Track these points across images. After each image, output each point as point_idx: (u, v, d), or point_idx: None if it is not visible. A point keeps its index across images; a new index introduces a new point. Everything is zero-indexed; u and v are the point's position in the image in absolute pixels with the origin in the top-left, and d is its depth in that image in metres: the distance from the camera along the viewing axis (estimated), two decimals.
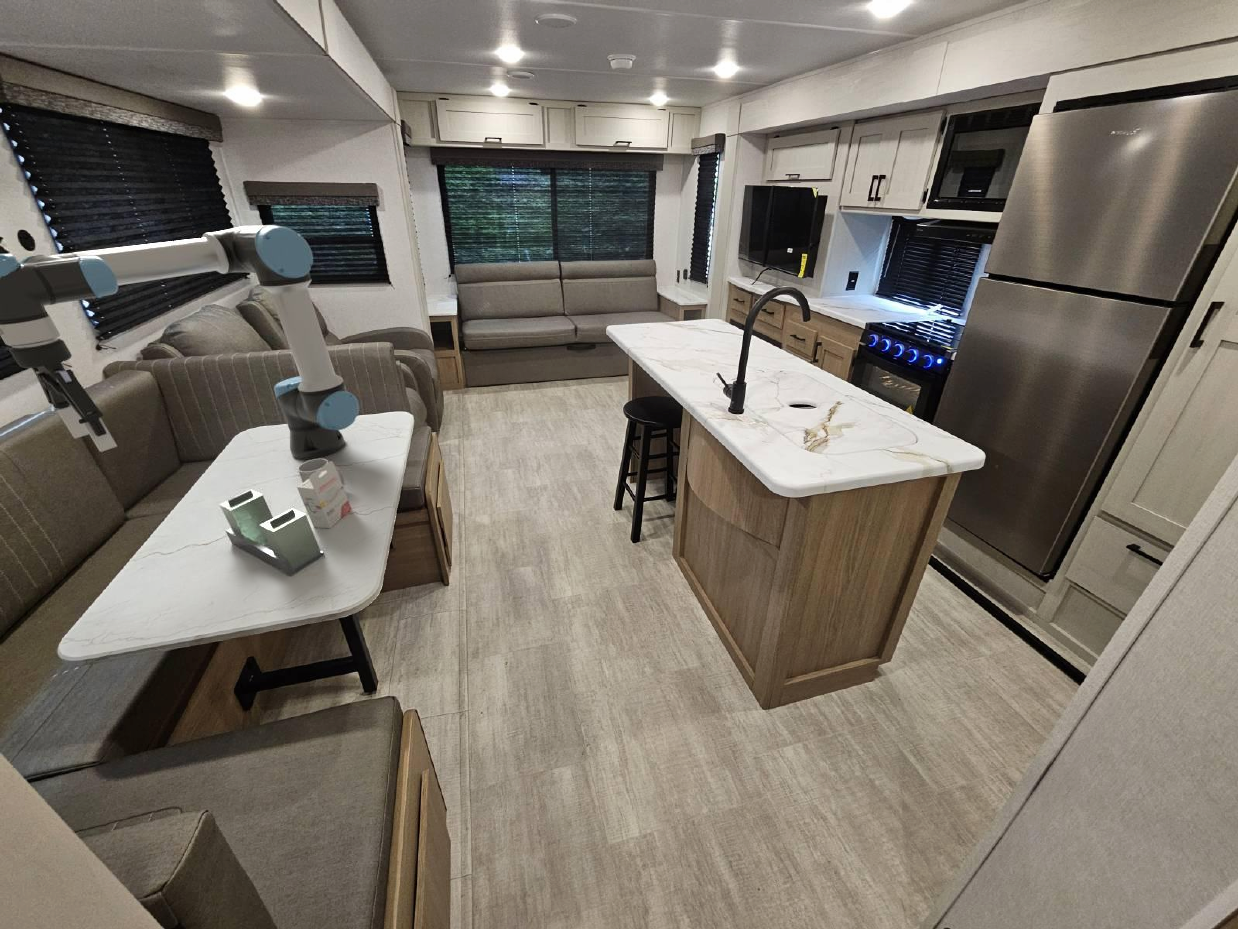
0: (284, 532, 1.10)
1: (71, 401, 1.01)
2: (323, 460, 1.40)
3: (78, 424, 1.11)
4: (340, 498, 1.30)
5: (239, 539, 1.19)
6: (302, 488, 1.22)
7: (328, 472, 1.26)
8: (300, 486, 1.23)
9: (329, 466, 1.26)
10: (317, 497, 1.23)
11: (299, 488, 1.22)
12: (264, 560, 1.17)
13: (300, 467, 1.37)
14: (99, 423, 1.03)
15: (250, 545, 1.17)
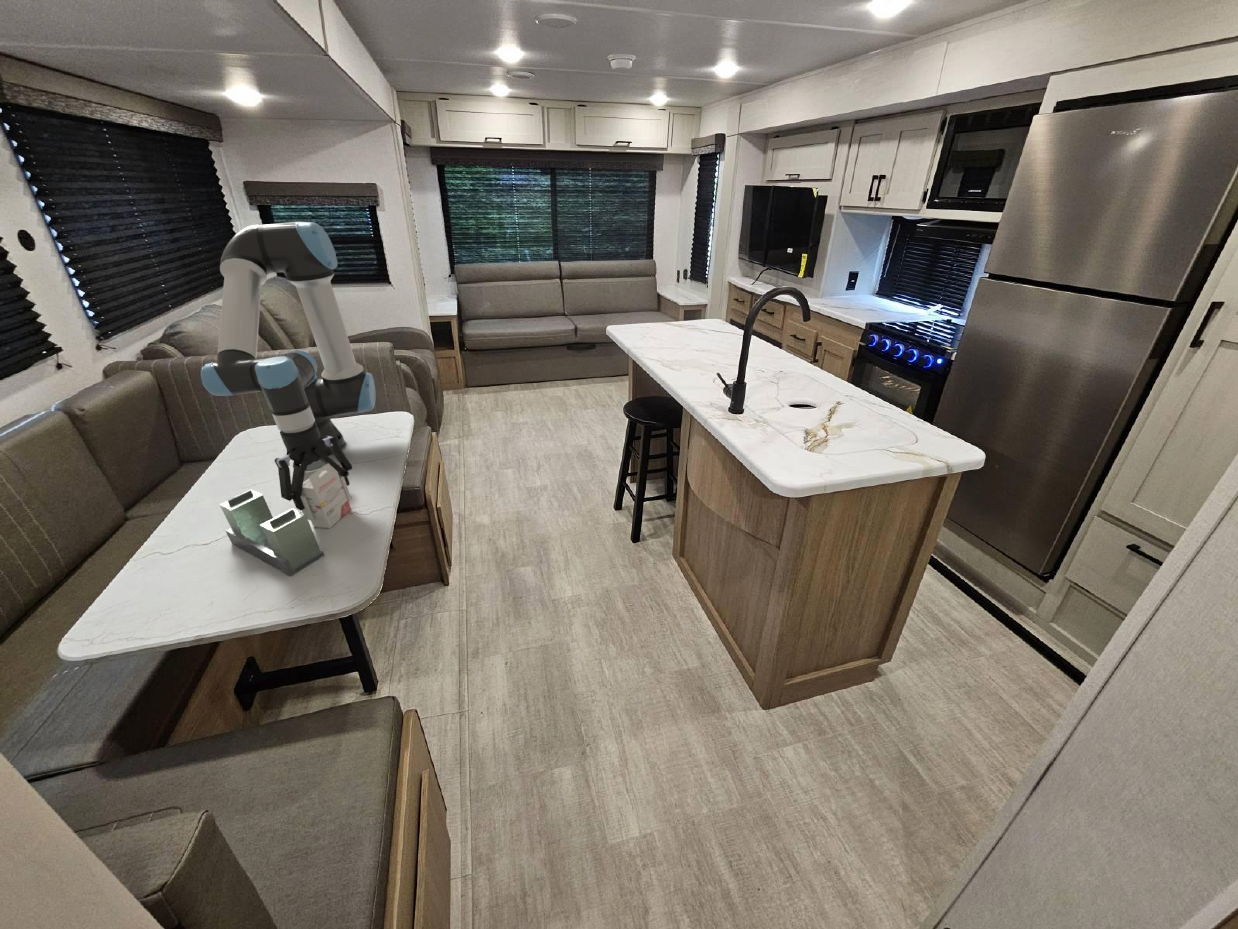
0: (284, 532, 1.10)
1: (292, 478, 1.21)
2: None
3: None
4: (339, 498, 1.30)
5: (239, 539, 1.19)
6: None
7: (328, 472, 1.26)
8: None
9: (329, 466, 1.26)
10: (317, 497, 1.23)
11: None
12: (264, 560, 1.17)
13: None
14: (296, 502, 1.22)
15: (250, 545, 1.17)
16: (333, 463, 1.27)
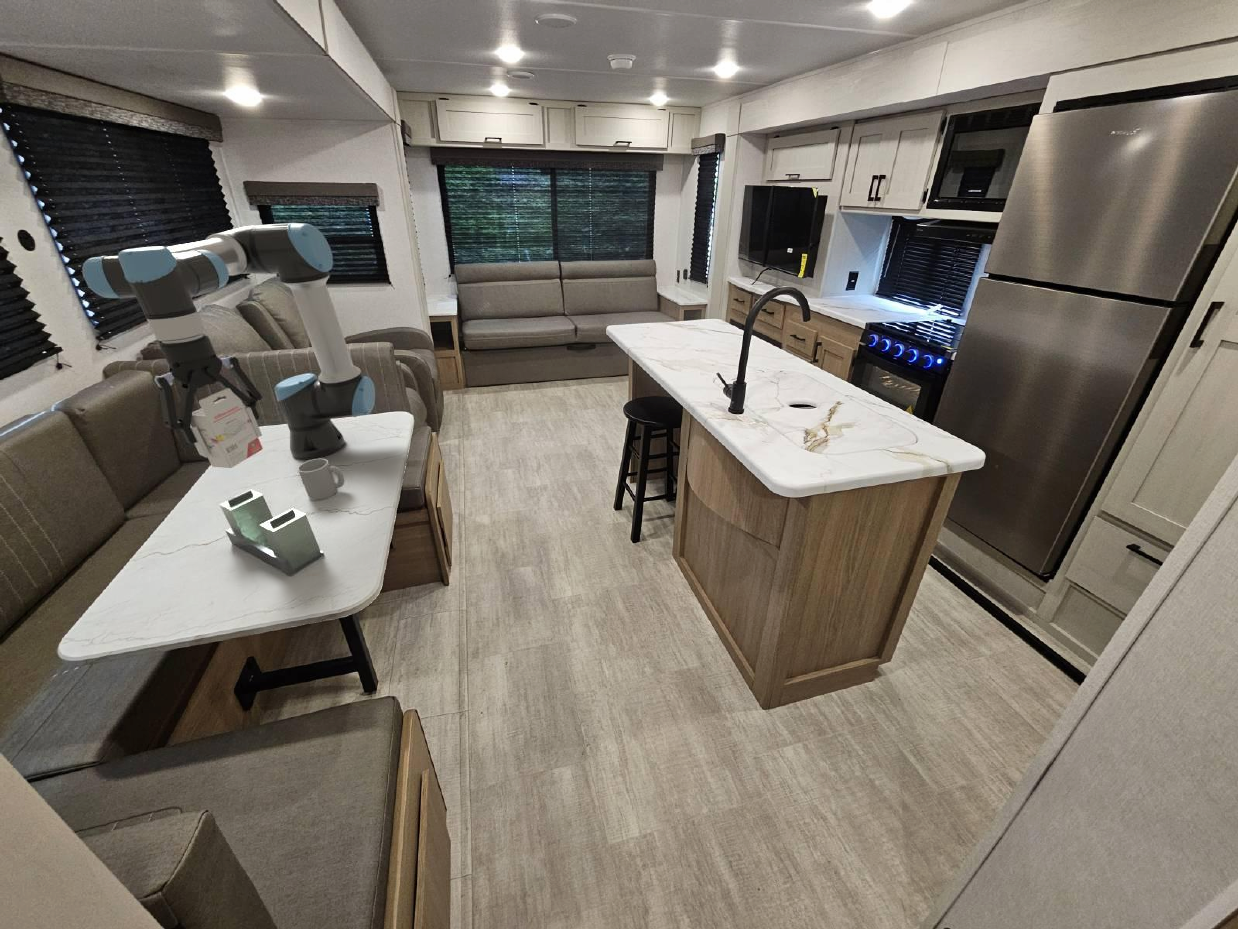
0: (284, 532, 1.10)
1: (180, 403, 0.99)
2: (323, 460, 1.40)
3: None
4: (245, 434, 1.08)
5: (239, 539, 1.19)
6: (192, 416, 1.00)
7: (228, 400, 1.04)
8: None
9: (229, 392, 1.04)
10: (211, 427, 1.01)
11: None
12: (264, 560, 1.17)
13: (300, 467, 1.37)
14: (184, 433, 1.00)
15: (250, 545, 1.17)
16: (235, 389, 1.05)
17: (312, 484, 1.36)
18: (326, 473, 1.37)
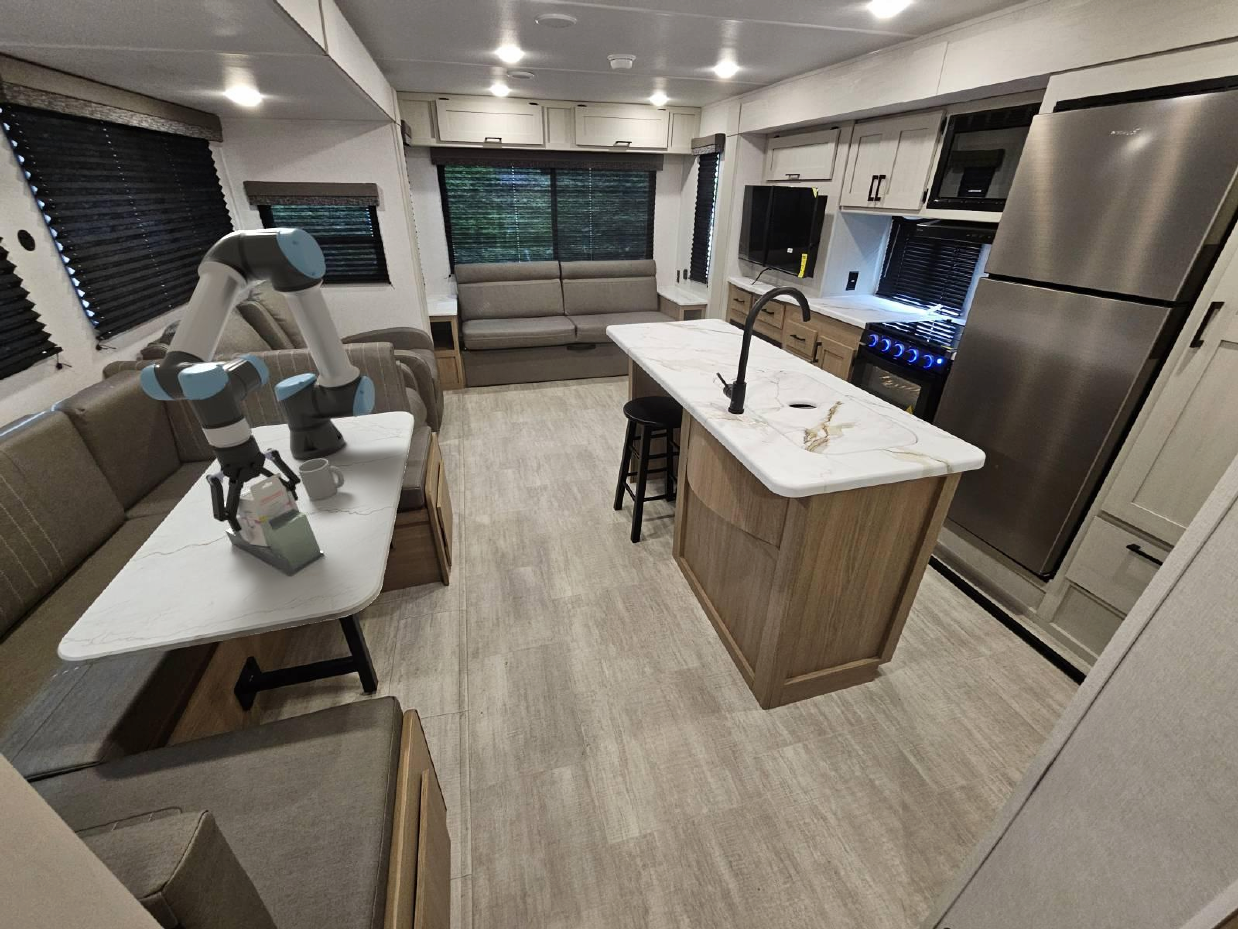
0: (284, 532, 1.10)
1: (227, 496, 1.10)
2: (323, 460, 1.40)
3: (291, 505, 1.21)
4: None
5: (239, 539, 1.19)
6: (241, 499, 1.11)
7: (273, 485, 1.15)
8: (240, 497, 1.12)
9: (276, 478, 1.16)
10: (257, 510, 1.12)
11: None
12: (264, 560, 1.17)
13: (300, 467, 1.37)
14: (231, 523, 1.10)
15: (250, 545, 1.17)
16: None
17: (312, 484, 1.36)
18: (326, 473, 1.37)
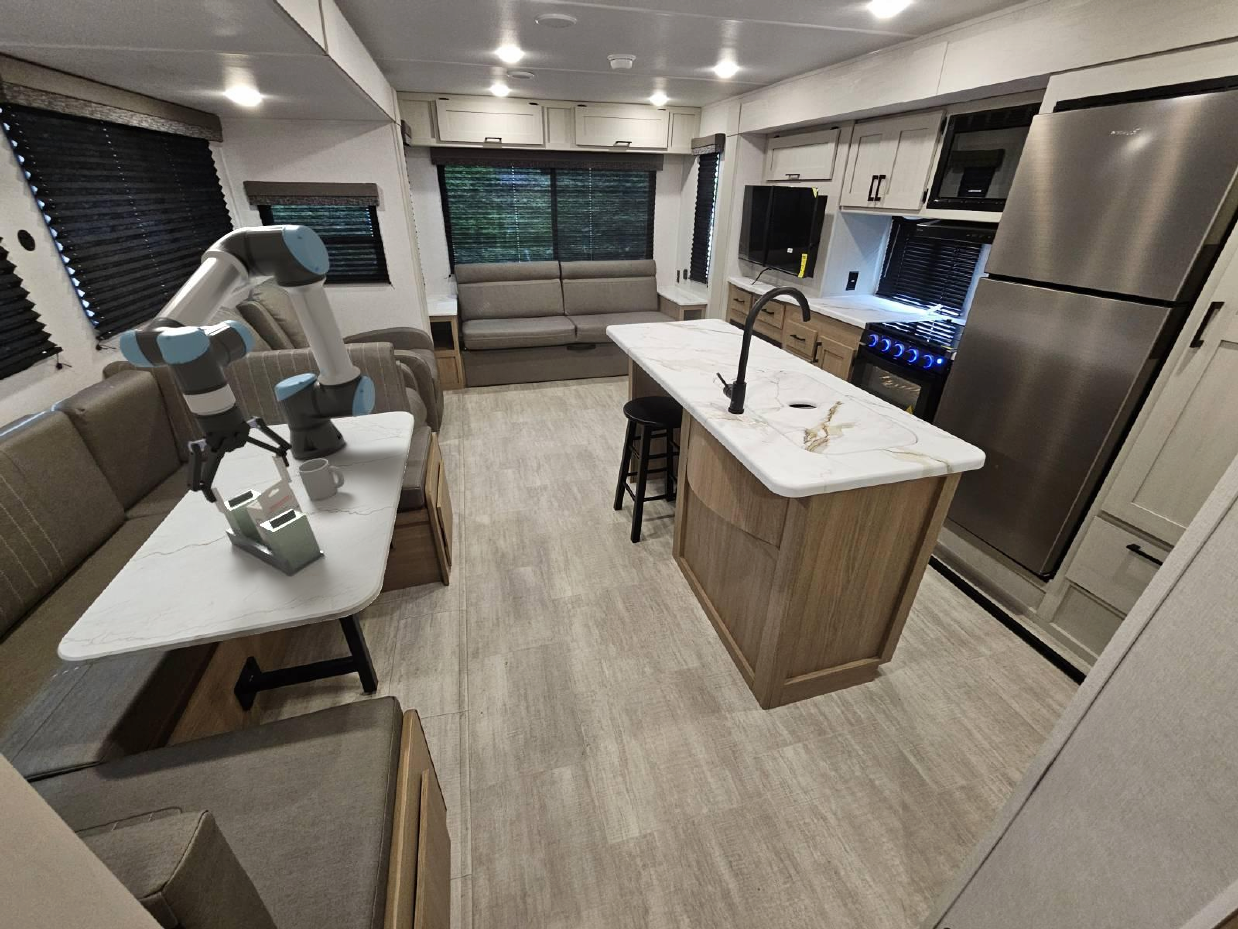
0: (284, 532, 1.10)
1: (205, 465, 1.05)
2: (323, 460, 1.40)
3: (282, 472, 1.18)
4: None
5: (239, 539, 1.19)
6: (250, 508, 1.14)
7: (280, 491, 1.17)
8: (249, 506, 1.14)
9: (282, 484, 1.17)
10: (267, 517, 1.14)
11: (248, 508, 1.14)
12: (264, 560, 1.17)
13: (300, 467, 1.37)
14: (205, 493, 1.05)
15: (250, 545, 1.17)
16: (265, 445, 1.12)
17: (312, 484, 1.36)
18: (326, 473, 1.37)
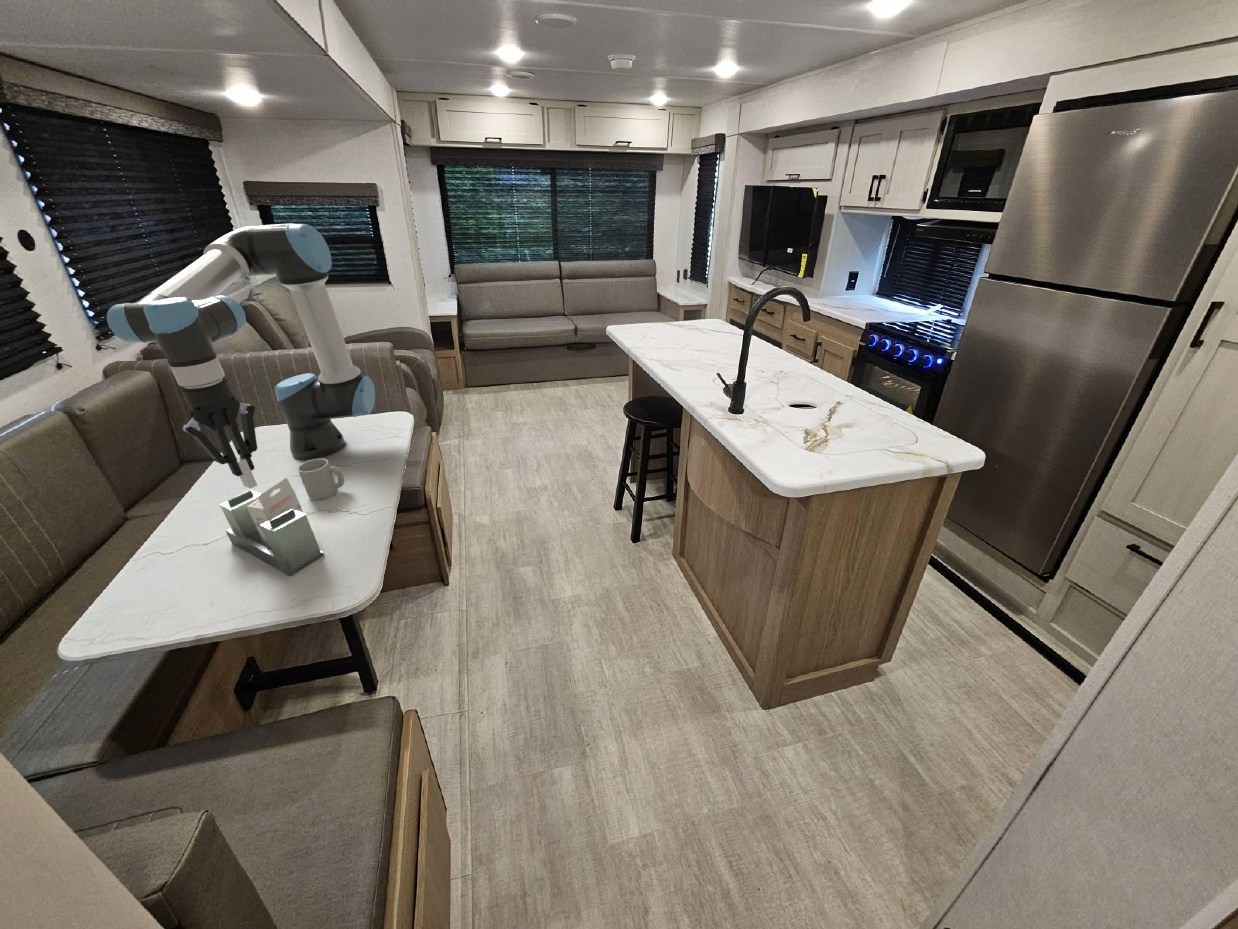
0: (284, 532, 1.10)
1: (217, 442, 1.06)
2: (323, 460, 1.40)
3: None
4: None
5: (239, 539, 1.19)
6: (251, 508, 1.14)
7: (282, 491, 1.17)
8: (250, 505, 1.14)
9: (283, 484, 1.17)
10: (268, 517, 1.14)
11: (249, 507, 1.14)
12: (264, 560, 1.17)
13: (300, 467, 1.37)
14: (231, 466, 1.08)
15: (250, 545, 1.17)
16: (239, 437, 1.08)
17: (312, 484, 1.36)
18: (326, 473, 1.37)
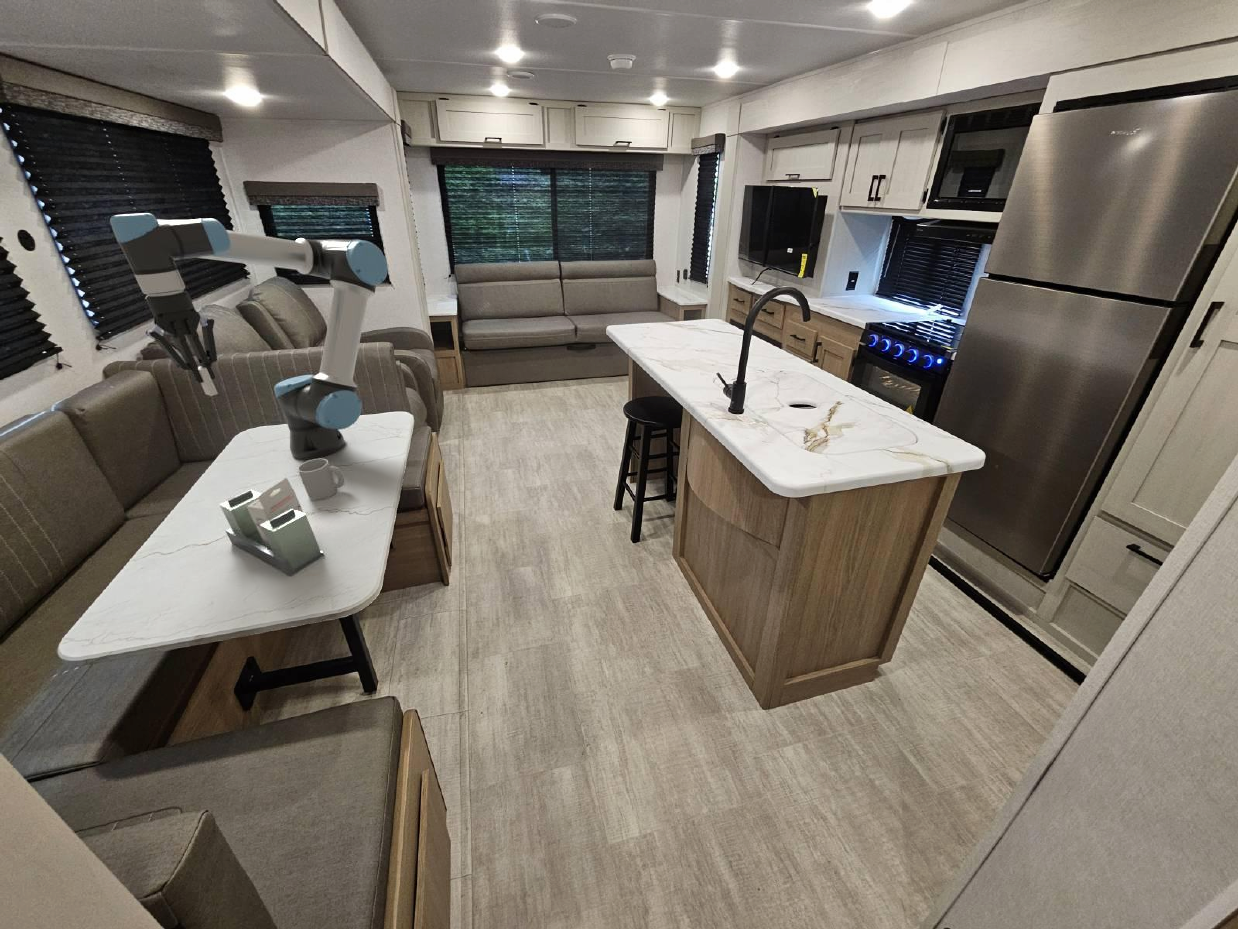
0: (284, 532, 1.10)
1: None
2: (323, 460, 1.40)
3: None
4: None
5: (239, 539, 1.19)
6: (251, 508, 1.14)
7: (282, 491, 1.17)
8: (250, 505, 1.14)
9: (283, 484, 1.17)
10: (268, 517, 1.14)
11: (249, 507, 1.14)
12: (264, 560, 1.17)
13: (300, 467, 1.37)
14: (193, 373, 1.21)
15: (250, 545, 1.17)
16: (200, 346, 1.20)
17: (312, 484, 1.36)
18: (326, 473, 1.37)
